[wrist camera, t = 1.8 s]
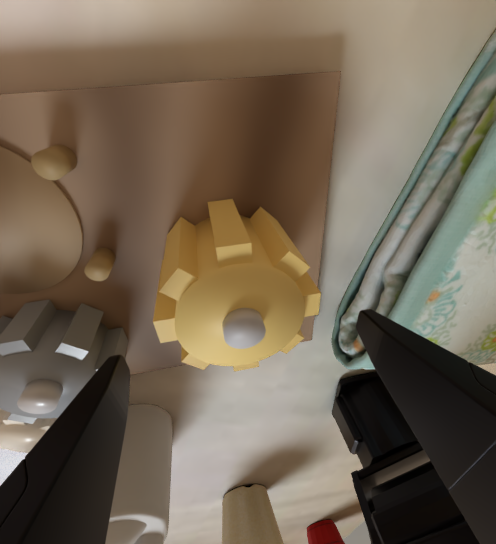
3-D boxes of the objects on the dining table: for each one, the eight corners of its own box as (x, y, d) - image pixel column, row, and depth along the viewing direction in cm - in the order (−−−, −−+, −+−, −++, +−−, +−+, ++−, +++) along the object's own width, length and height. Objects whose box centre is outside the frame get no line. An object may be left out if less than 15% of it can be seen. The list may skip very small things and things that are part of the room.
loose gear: (287, 191, 13) (340, 243, 9) (284, 296, 17) (321, 371, 12) (147, 208, 12) (125, 275, 8) (178, 314, 16) (174, 401, 12)
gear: (105, 289, 14) (83, 344, 11) (141, 367, 18) (131, 424, 15) (-33, 311, 13) (-99, 376, 10) (34, 387, 17) (1, 452, 14)
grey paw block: (176, 401, 23) (171, 538, 16) (167, 470, 30) (161, 588, 23) (35, 408, 20) (-47, 578, 13) (60, 482, 27) (14, 622, 20)
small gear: (50, 368, 17) (21, 416, 15) (97, 400, 20) (79, 446, 17) (-5, 387, 18) (-41, 436, 15) (48, 416, 20) (24, 461, 18)
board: (328, 73, 12) (359, 68, 10) (305, 328, 21) (319, 355, 19) (-209, 109, 9) (-325, 114, 7) (29, 380, 18) (8, 417, 16)
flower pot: (232, 476, 34) (244, 578, 27) (289, 478, 38) (313, 567, 31) (199, 507, 37) (201, 604, 30) (254, 506, 41) (268, 591, 34)
